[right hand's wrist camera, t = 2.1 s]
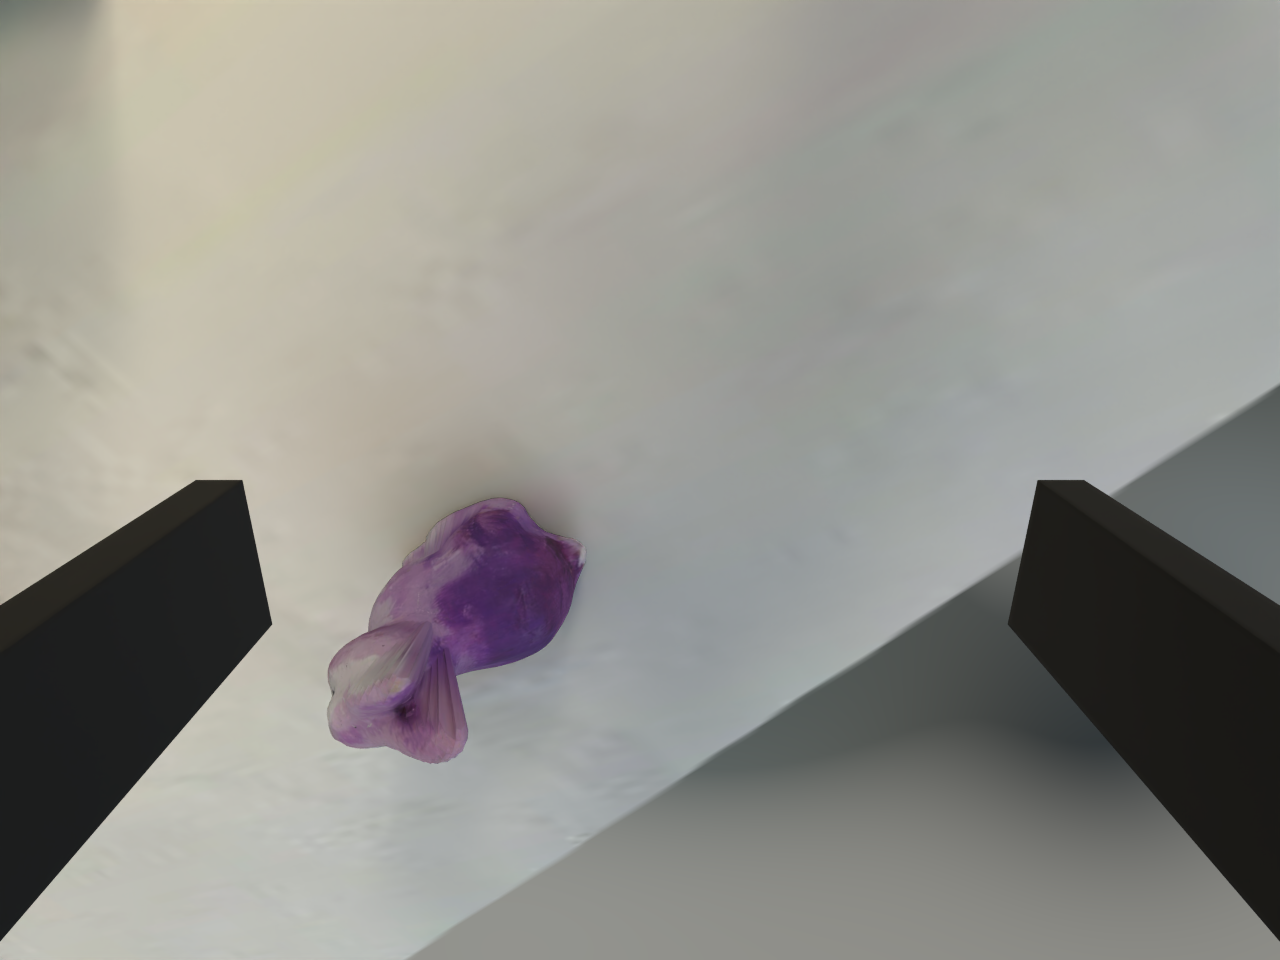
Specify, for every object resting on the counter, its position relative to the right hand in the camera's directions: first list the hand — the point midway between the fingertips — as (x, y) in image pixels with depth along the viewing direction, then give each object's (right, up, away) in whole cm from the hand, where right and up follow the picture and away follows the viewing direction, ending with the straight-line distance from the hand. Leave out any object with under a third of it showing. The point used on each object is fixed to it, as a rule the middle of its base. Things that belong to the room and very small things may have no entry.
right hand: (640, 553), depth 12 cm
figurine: (-9, -4, +30) cm, 31 cm away
